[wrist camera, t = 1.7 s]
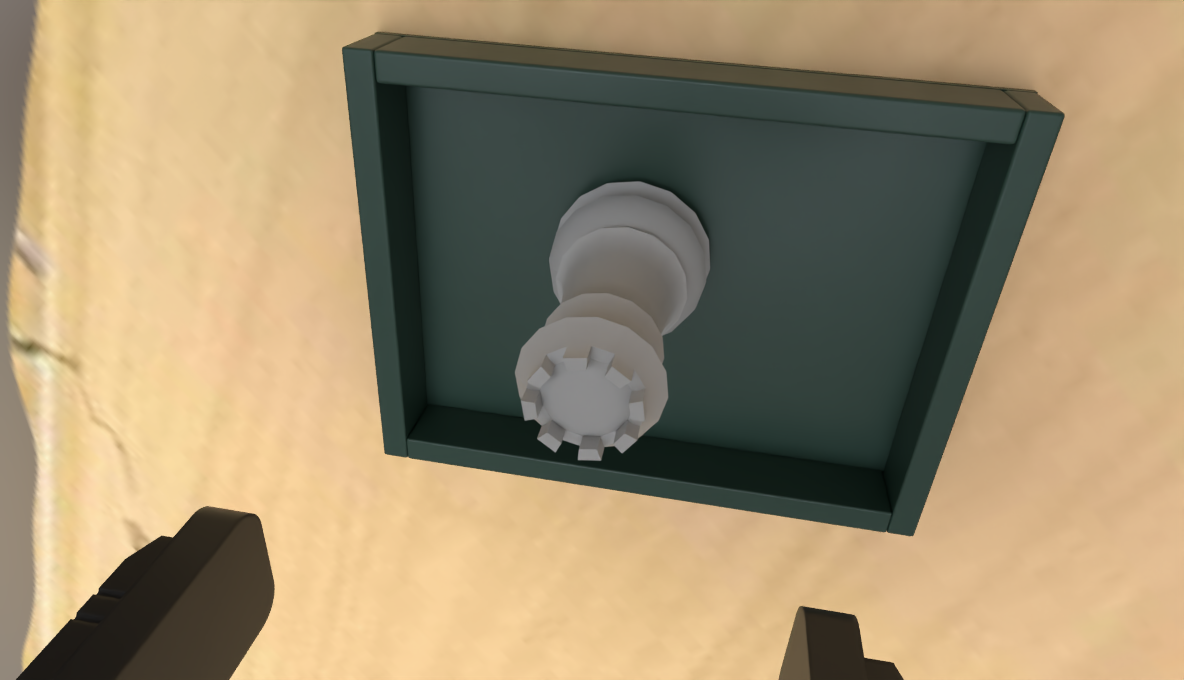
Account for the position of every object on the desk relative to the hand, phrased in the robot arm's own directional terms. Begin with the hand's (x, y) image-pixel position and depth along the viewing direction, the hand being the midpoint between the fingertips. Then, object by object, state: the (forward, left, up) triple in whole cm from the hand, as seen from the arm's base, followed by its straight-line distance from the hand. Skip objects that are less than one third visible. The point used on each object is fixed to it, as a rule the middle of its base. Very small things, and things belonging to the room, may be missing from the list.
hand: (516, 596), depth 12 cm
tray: (-1, +1, -13) cm, 13 cm away
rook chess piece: (0, 0, -13) cm, 13 cm away
